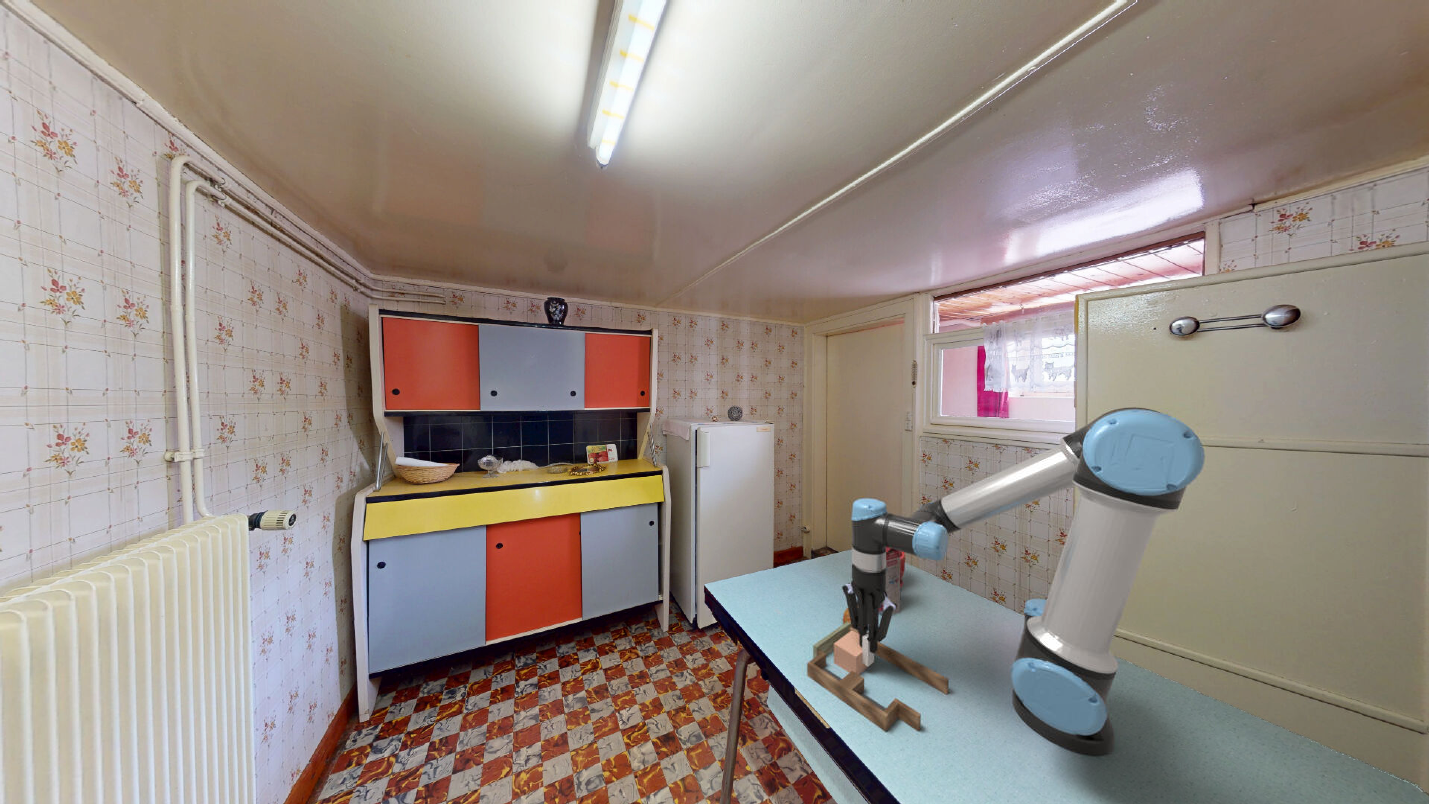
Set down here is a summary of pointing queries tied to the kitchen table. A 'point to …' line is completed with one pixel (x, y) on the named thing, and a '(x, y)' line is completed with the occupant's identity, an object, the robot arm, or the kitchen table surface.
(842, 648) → the block
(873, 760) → the kitchen table surface
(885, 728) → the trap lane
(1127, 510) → the robot arm
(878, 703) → the mats
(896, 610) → the juice carton
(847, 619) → the pastry
